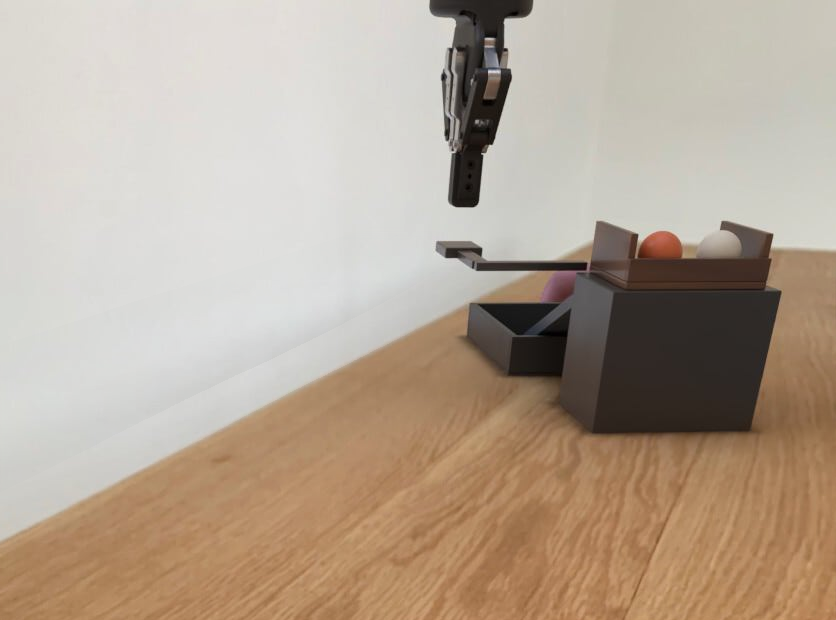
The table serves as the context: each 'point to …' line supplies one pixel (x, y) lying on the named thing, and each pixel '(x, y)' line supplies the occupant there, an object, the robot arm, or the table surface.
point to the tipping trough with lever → (644, 262)
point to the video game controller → (560, 286)
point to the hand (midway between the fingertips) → (462, 206)
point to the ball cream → (719, 245)
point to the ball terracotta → (660, 246)
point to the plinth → (665, 357)
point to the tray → (516, 337)
